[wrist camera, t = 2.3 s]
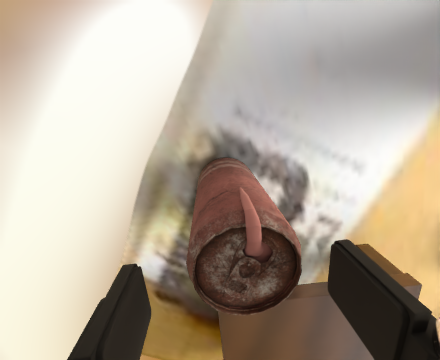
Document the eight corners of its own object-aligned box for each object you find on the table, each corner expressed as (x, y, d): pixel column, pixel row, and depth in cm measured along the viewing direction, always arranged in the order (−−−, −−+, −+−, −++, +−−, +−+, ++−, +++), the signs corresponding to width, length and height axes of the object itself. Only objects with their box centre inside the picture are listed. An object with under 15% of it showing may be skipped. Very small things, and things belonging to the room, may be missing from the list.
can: (249, 150, 22) (309, 204, 9) (254, 204, 24) (309, 313, 11) (193, 158, 22) (171, 224, 9) (202, 211, 24) (196, 330, 11)
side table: (369, 242, 27) (422, 284, 20) (355, 332, 32) (393, 389, 25) (215, 258, 26) (217, 307, 20) (224, 346, 31) (229, 409, 25)
